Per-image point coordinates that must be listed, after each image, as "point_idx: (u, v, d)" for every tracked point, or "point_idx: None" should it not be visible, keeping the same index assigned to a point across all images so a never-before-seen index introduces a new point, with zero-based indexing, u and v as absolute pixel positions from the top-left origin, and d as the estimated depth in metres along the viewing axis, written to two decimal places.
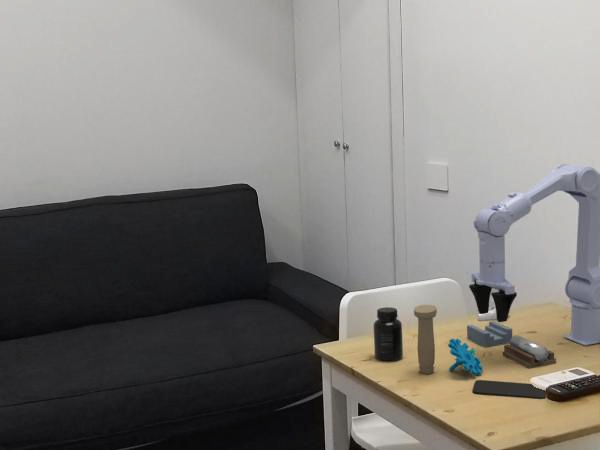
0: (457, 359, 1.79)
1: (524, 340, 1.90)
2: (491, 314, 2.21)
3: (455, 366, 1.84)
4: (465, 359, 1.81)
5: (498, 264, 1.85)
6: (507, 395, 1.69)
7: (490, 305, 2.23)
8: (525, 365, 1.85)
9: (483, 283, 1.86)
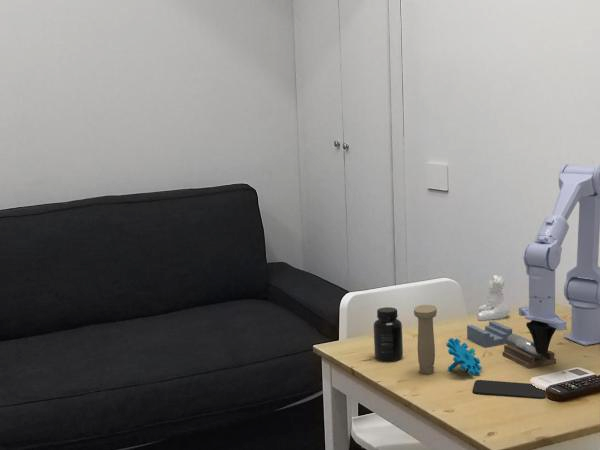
0: (455, 359, 1.79)
1: (521, 338, 1.91)
2: (491, 314, 2.21)
3: (454, 366, 1.84)
4: (463, 359, 1.81)
5: (549, 299, 1.80)
6: (507, 395, 1.69)
7: (490, 305, 2.23)
8: (525, 365, 1.85)
9: (533, 318, 1.81)
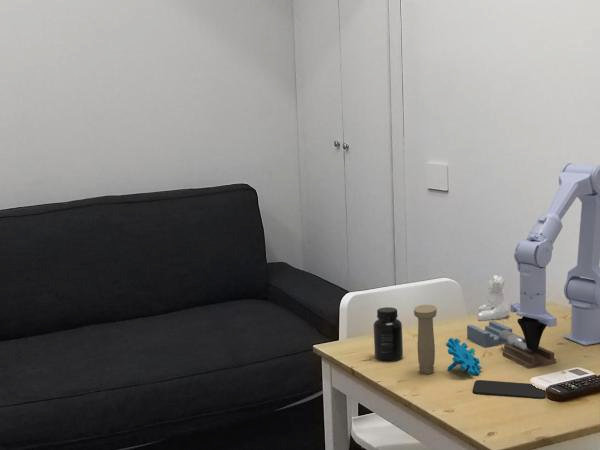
0: (454, 358, 1.79)
1: (513, 335, 1.94)
2: (491, 314, 2.21)
3: (453, 365, 1.84)
4: (463, 359, 1.81)
5: (539, 296, 1.83)
6: (507, 395, 1.69)
7: (490, 305, 2.23)
8: (525, 365, 1.85)
9: (524, 315, 1.84)
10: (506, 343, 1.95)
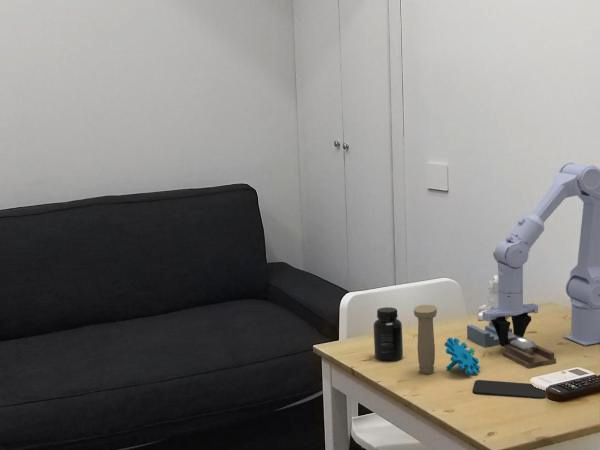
0: (452, 358, 1.80)
1: (512, 335, 1.94)
2: None
3: (452, 365, 1.85)
4: (461, 358, 1.81)
5: (500, 293, 1.93)
6: (507, 395, 1.69)
7: (490, 305, 2.23)
8: (525, 365, 1.85)
9: None
10: None
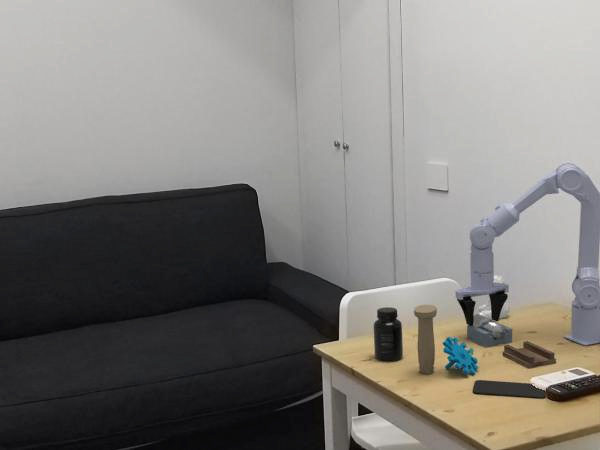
0: (449, 357, 1.80)
1: (484, 318, 2.05)
2: None
3: (450, 364, 1.85)
4: (458, 358, 1.82)
5: (472, 273, 2.04)
6: (507, 395, 1.69)
7: (490, 305, 2.23)
8: (525, 365, 1.85)
9: None
10: (478, 326, 2.06)
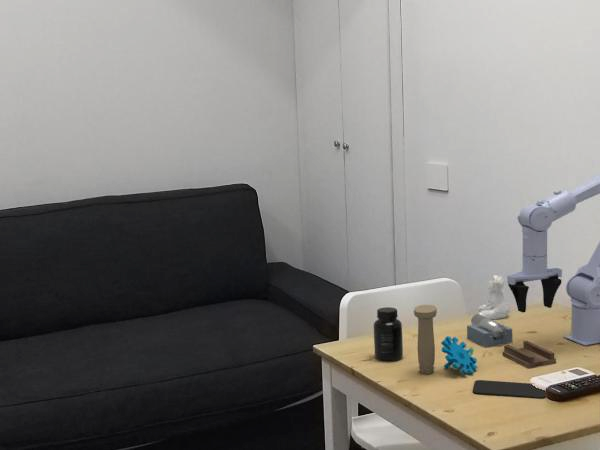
0: (447, 357, 1.81)
1: (484, 318, 2.05)
2: (491, 314, 2.21)
3: (449, 364, 1.85)
4: (457, 357, 1.82)
5: (524, 257, 1.94)
6: (507, 395, 1.69)
7: (490, 305, 2.23)
8: (525, 365, 1.85)
9: (523, 271, 1.98)
10: (478, 326, 2.06)
